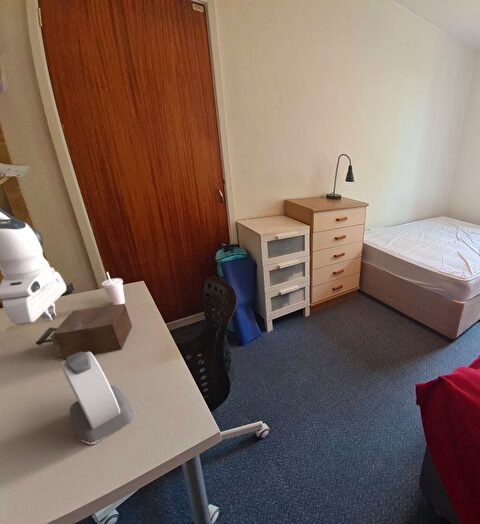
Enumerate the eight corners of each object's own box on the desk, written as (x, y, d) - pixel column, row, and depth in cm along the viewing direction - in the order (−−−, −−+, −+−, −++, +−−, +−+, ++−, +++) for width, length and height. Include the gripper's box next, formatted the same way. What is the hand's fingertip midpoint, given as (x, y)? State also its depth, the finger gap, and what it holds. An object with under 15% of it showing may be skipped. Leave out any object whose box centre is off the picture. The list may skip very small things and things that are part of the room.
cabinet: (65, 360, 83) (53, 334, 79) (83, 335, 94) (73, 310, 90) (121, 349, 88) (112, 324, 84) (132, 326, 99) (124, 303, 95)
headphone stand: (141, 421, 66) (119, 362, 59) (85, 457, 59) (51, 393, 51) (118, 387, 75) (95, 331, 68) (66, 414, 67) (35, 354, 60)
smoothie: (104, 306, 110) (93, 273, 104) (120, 298, 115) (110, 267, 110) (117, 308, 108) (106, 276, 103) (133, 300, 114) (123, 269, 109)
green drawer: (38, 361, 81) (26, 340, 78) (57, 338, 91) (48, 317, 87) (112, 347, 87) (104, 327, 84) (123, 326, 97) (116, 307, 94)
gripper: (36, 265, 85) (54, 303, 91) (-11, 297, 68) (15, 342, 73) (63, 262, 87) (79, 300, 93) (24, 293, 70) (46, 337, 76)
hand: (50, 319), depth 83 cm, fingers closed
